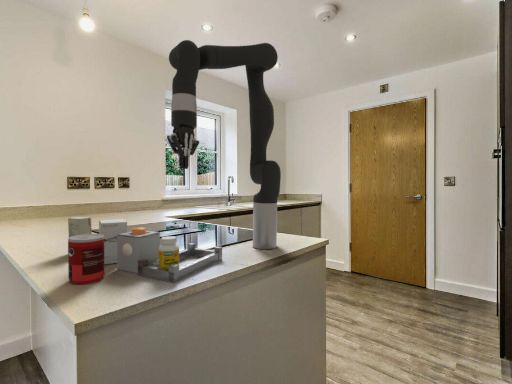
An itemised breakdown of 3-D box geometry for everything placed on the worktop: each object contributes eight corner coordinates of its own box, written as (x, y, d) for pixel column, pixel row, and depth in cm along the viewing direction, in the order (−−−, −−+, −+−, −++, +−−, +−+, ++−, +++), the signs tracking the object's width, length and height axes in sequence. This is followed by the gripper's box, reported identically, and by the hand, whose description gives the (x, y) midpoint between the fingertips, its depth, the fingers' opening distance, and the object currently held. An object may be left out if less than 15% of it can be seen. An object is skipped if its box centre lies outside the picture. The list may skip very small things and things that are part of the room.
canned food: (78, 274, 75) (78, 233, 74) (110, 274, 75) (109, 233, 75) (61, 285, 67) (60, 239, 66) (96, 284, 68) (95, 239, 67)
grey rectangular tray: (191, 254, 96) (191, 242, 96) (222, 259, 91) (222, 247, 91) (137, 275, 75) (137, 260, 75) (174, 282, 70) (174, 266, 70)
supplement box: (100, 265, 82) (99, 223, 81) (98, 259, 88) (98, 219, 88) (127, 262, 86) (127, 221, 85) (124, 256, 92) (124, 218, 92)
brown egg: (139, 248, 84) (139, 227, 83) (149, 250, 82) (149, 228, 82) (128, 251, 80) (128, 229, 80) (138, 253, 78) (138, 230, 78)
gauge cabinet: (139, 261, 87) (139, 229, 86) (159, 265, 83) (159, 232, 83) (116, 269, 79) (116, 234, 79) (137, 273, 76) (137, 237, 75)
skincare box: (92, 252, 96) (92, 217, 95) (80, 256, 92) (79, 219, 91) (80, 250, 98) (80, 216, 98) (68, 253, 94) (67, 217, 94)
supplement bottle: (175, 267, 81) (175, 234, 80) (181, 273, 76) (182, 238, 76) (156, 271, 78) (156, 236, 77) (161, 276, 73) (161, 240, 73)
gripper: (179, 105, 77) (179, 167, 78) (206, 115, 89) (206, 169, 90) (158, 107, 80) (158, 167, 81) (187, 117, 93) (187, 169, 93)
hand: (183, 168), depth 86 cm, fingers closed
